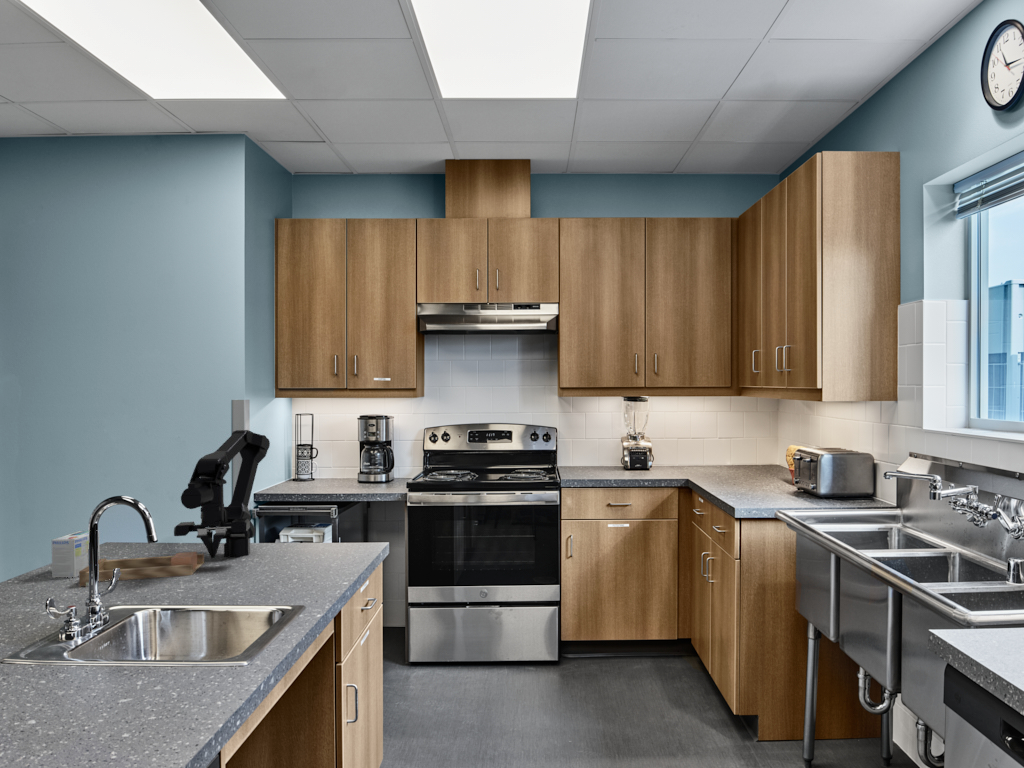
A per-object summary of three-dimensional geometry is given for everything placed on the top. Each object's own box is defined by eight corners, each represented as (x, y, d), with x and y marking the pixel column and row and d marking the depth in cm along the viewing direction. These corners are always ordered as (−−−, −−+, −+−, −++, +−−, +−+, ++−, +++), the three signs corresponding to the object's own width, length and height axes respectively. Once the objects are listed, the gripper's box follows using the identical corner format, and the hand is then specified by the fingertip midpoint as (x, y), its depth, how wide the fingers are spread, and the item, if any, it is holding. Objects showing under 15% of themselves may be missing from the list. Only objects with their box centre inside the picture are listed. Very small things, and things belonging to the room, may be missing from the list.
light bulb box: (78, 567, 186) (77, 530, 186) (101, 567, 186) (100, 530, 186) (50, 578, 176) (50, 539, 176) (74, 578, 175) (74, 538, 176)
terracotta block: (197, 565, 182) (196, 551, 182) (191, 571, 176) (190, 557, 176) (177, 567, 181) (177, 552, 181) (171, 573, 175) (171, 558, 175)
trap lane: (204, 565, 185) (203, 551, 186) (191, 578, 173) (191, 563, 173) (100, 573, 180) (100, 558, 180) (79, 586, 167) (79, 571, 167)
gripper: (253, 495, 190) (253, 548, 190) (184, 499, 186) (185, 553, 186) (245, 502, 179) (246, 558, 179) (172, 506, 175) (173, 563, 175)
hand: (213, 557), depth 180 cm, fingers closed
